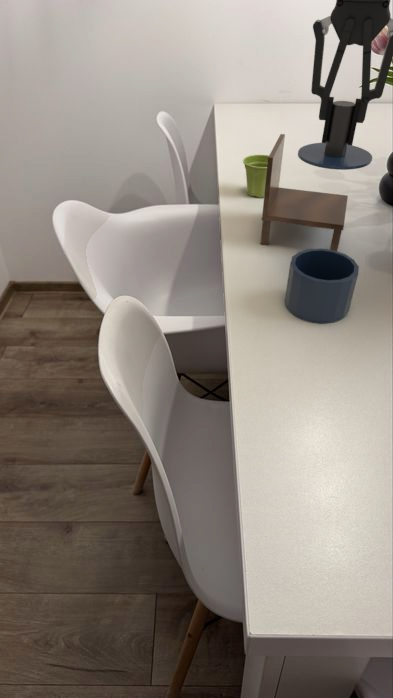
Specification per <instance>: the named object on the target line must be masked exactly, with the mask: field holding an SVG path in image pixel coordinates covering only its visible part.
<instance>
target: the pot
mask: <svg viewBox="0 0 393 698" xmlns="http://www.w3.org/2000/svg"><path fill="white" fill-rule="evenodd" d="M359 271H360V266H359V265H358V263H357V262H356V261H355V259H353V258H352V257H351V256H349V255H348V254H346V253H343V252H340V251H338V250H337V251H334V250H330V248H329V249H328V248H323V247H321V248H308V249H304V250H301V251H297V252H296V253H295V254H293V256H291V259H290V263H289V269H288V276H287V282H286V283H287V284H286V289H285V295H284V306H285V307H286V309H287V310H288V312H289V313H290V314H292V315H293V316H294V317H296V318H298V319H300V320H303V321H306V322H309V323H313V324H332V323H337V322H339V321H341V320H342V319H344V318H345V317H346V316H347V315H348V313H349V312H350V308H351V304H352V300H353V295H354V292H355V289H356V284H357V280H358V276H359V273H360V272H359Z"/></svg>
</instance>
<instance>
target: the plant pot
mask: <svg viewBox="0 0 393 698" xmlns="http://www.w3.org/2000/svg"><path fill="white" fill-rule="evenodd" d="M269 155H270V154H252V155H248V156H245V157H243V160H242V163H243V165H244V169H245V176H246V177H245V178H246V190H247V194H248V196H250V197H256V198H259V199H260V198H264V194H265V184H266V174H267V164H268V157H269Z"/></svg>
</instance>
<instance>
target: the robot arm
mask: <svg viewBox="0 0 393 698" xmlns="http://www.w3.org/2000/svg"><path fill="white" fill-rule="evenodd" d="M390 4H391V0H335V5H334V7H333V9H332V11H331V13H330V15H329V16H327V17H324V18H321V19H316V20H315V21H314V23H313V24H312V30H313V34H314V39H315V44H314V55H313V56H314V57H313V67H312V79H311V89H310V90H311V91H310V92H311V94H312V95H314V96H315V95H316V96H317V97H319V99H320V106H319V112H318V120H319V121H324V125H323V131H322V137H321V143H326V141H327V135H328V129H329V123H330V117H331V112H332V106H333V102H334V99H335V96H331V93H332V90H333V88H334V84H335V81H336V79H337V76H338V72H339V70H340V67H341V64H342V61H343V57H344V55H345V53H346V49H347V46H353V45H357V46H360V47H362V63H361V65H362V66H361V92H360V93H361V96H360V98H355V101H354V103H355V109H354V114H353V119H352V124H351V129H350V134H349V139H348V145H353V143H354V138H355V133H356V128H357V124H363V123H364V121H365V119H366V116H367V110H368V106H369V103H370V102H371V101H372V100H375V99H381V97H382V96H383V93H384V89H385V85H386V83H387V80H388V75H389V73H390V72H389V71H390V68H391V65H392V61H393V18H392V17H391V10H390ZM330 26H332V27H333V30H334V32H335V34H336V36H337V38H338V40H339V42H338V45H337V48H336V51H335V54H334V57H333V60H332V63H331V66H330V70H329V72H328V75H327V78H326V82H325V84H324V86H323V85H322V84H321V80H322V71H323V61H324V50H325V41H326V40H325V39H326V37H325V36H326V35H328V33H329V31H330ZM385 27H387V30H386V37H387V38H388V39H387V42H386V45H385V48H384V53H383V56H382V59H381V63H380V67H379V71H378V74H377V79H376V82H375V85H374V88H371V71H372V70H371V69H372V68H371V67H372V47H373V45H372V43H373V41H374V40H375V39H376V38H377V37H378V35H379V34H380V33H381V32H382V31H383V30H384V28H385Z"/></svg>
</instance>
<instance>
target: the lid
mask: <svg viewBox="0 0 393 698" xmlns="http://www.w3.org/2000/svg"><path fill="white" fill-rule="evenodd" d="M354 109H355V102H353V101H349V100H336V101H333V106H332V112H331V117H330V123H329V129H328V135H327V141H326V143H322V142H315V143H309V144H306V145H302V146H301V147H299V149H298V151H297V157H298V159H300V160H301V161H302V162H304V163H306V164H308V165H310V166H313V167H317V168H321V169H328V170H335V171H336V170H340V171H341V170H342V171H347V170H358V169H362V168H365V167H367V166H369V165H370V164H371V163H372V161H373V155H372V153H370V152H369V151H368V150H366V149H364V148H362V147H360V146H355V145H354V144H352V145H348V139H349V134H350V129H351V124H352V119H353V114H354Z"/></svg>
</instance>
